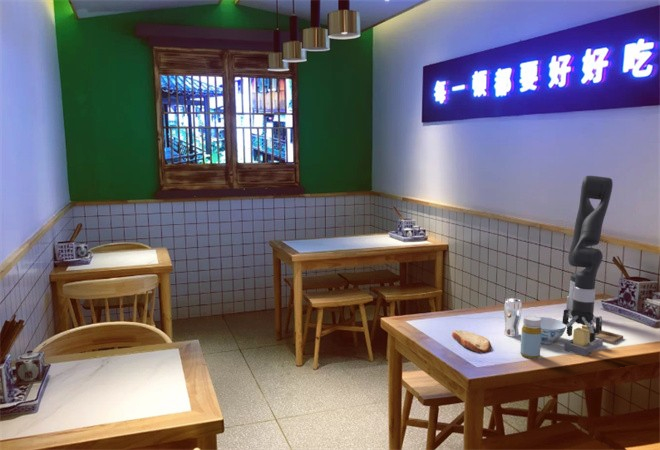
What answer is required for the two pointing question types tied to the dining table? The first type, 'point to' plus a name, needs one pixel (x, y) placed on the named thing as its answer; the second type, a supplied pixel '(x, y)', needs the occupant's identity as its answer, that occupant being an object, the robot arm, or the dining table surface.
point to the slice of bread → (472, 341)
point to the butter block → (580, 337)
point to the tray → (609, 337)
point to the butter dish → (587, 349)
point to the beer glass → (512, 316)
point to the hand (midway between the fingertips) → (580, 338)
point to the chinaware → (551, 330)
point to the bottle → (531, 337)
